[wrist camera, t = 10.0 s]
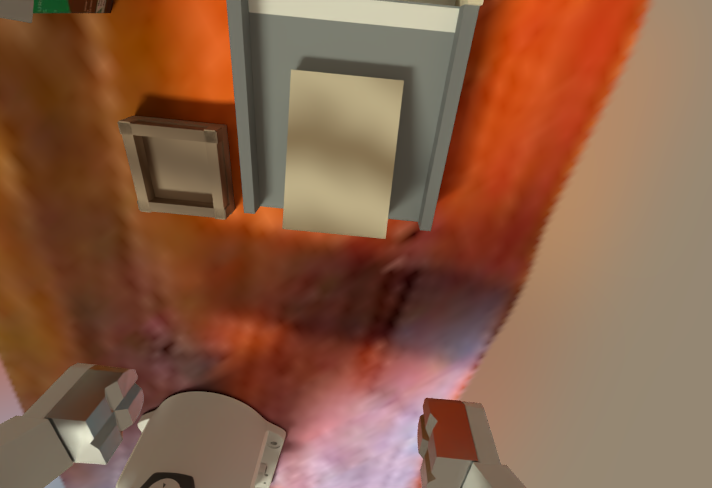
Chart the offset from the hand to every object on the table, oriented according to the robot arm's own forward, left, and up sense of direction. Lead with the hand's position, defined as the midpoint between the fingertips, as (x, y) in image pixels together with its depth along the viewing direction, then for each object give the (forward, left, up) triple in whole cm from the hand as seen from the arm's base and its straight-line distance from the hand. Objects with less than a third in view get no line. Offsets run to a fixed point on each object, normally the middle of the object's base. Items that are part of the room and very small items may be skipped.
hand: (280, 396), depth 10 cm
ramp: (+2, 0, -19) cm, 19 cm away
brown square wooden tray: (-1, +12, -21) cm, 24 cm away
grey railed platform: (+4, 0, -21) cm, 21 cm away
